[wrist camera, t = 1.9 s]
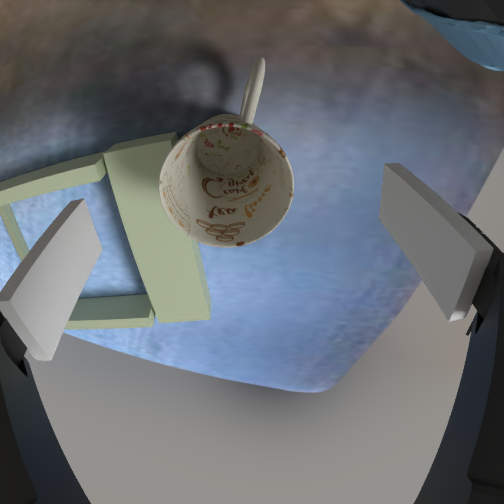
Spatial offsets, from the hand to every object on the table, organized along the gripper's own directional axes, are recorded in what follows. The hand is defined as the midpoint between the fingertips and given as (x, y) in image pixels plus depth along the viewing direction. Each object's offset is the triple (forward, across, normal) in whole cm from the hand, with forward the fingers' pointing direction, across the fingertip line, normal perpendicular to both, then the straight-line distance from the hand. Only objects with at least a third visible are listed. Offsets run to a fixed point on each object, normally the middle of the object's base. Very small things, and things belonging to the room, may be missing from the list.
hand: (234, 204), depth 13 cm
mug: (+16, 0, 0) cm, 16 cm away
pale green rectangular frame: (+16, -16, -10) cm, 25 cm away
